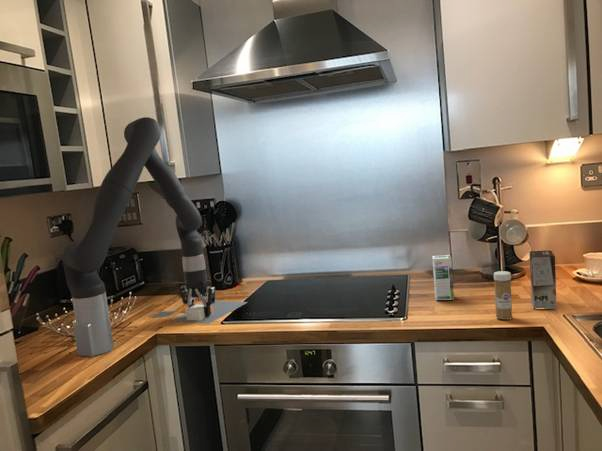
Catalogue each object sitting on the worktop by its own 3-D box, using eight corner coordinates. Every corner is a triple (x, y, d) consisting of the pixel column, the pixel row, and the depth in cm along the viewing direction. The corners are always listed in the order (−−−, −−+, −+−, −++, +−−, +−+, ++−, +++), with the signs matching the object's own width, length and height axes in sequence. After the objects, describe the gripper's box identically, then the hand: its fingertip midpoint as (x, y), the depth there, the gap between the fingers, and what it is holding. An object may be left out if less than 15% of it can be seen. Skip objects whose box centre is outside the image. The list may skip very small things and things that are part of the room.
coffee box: (557, 310, 148) (555, 256, 146) (533, 309, 150) (531, 256, 148) (553, 300, 157) (551, 250, 155) (530, 300, 159) (528, 250, 157)
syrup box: (436, 301, 167) (433, 258, 165) (434, 296, 173) (432, 255, 171) (454, 301, 166) (451, 257, 164) (452, 296, 172) (449, 254, 170)
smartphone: (138, 325, 171) (160, 311, 186) (139, 328, 171) (160, 313, 186) (157, 325, 169) (177, 310, 184) (157, 327, 170) (178, 313, 184)
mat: (209, 324, 165) (208, 323, 165) (170, 322, 173) (170, 320, 173) (248, 303, 187) (248, 302, 187) (212, 301, 194) (212, 300, 194)
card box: (199, 320, 170) (198, 310, 169) (186, 319, 172) (185, 309, 172) (213, 313, 177) (212, 303, 176) (201, 312, 179) (199, 302, 179)
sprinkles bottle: (502, 321, 143) (500, 275, 141) (492, 317, 147) (490, 272, 145) (516, 319, 144) (514, 272, 142) (505, 314, 148) (503, 269, 147)
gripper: (170, 270, 172) (176, 318, 174) (204, 270, 166) (211, 320, 168) (184, 265, 179) (190, 311, 181) (218, 265, 172) (224, 313, 174)
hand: (200, 315), depth 174 cm, fingers closed on card box, 5 cm apart
